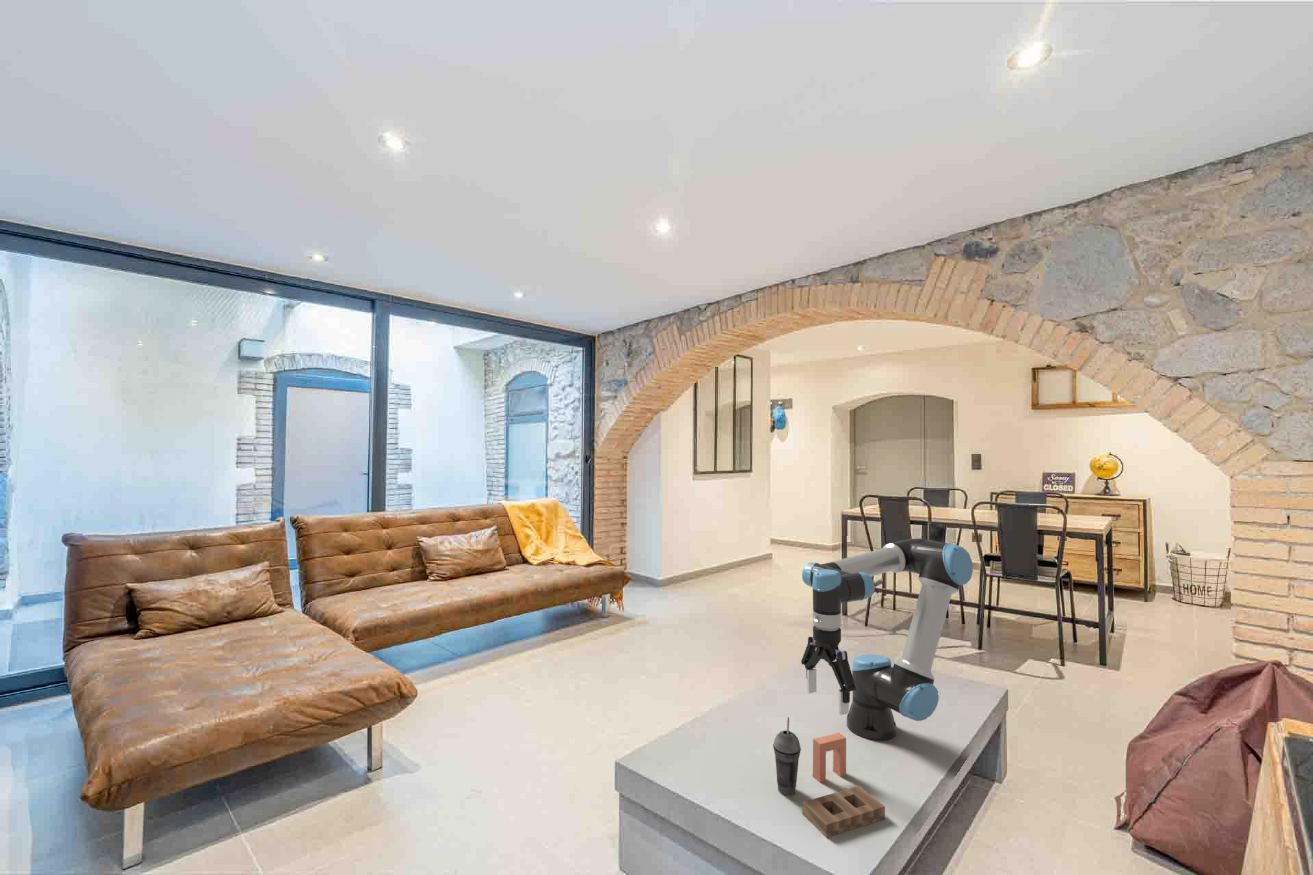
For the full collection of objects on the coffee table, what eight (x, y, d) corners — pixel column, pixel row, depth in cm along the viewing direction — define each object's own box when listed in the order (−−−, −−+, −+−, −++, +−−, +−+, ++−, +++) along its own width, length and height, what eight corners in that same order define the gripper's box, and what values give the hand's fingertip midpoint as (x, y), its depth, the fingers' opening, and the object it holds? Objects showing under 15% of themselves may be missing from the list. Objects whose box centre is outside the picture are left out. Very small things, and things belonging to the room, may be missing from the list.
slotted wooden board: (859, 797, 149) (859, 785, 149) (884, 818, 140) (884, 806, 140) (802, 813, 142) (802, 801, 142) (826, 837, 134) (826, 824, 134)
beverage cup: (796, 781, 155) (796, 708, 155) (804, 798, 148) (804, 722, 148) (769, 782, 155) (770, 709, 155) (776, 799, 148) (777, 722, 148)
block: (838, 769, 161) (838, 732, 161) (845, 775, 158) (846, 737, 158) (812, 776, 158) (813, 738, 158) (819, 782, 155) (820, 744, 155)
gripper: (789, 615, 168) (789, 686, 168) (846, 643, 145) (847, 726, 145) (809, 611, 171) (810, 682, 171) (869, 639, 148) (870, 720, 148)
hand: (827, 702), depth 158 cm, fingers open, 13 cm apart
